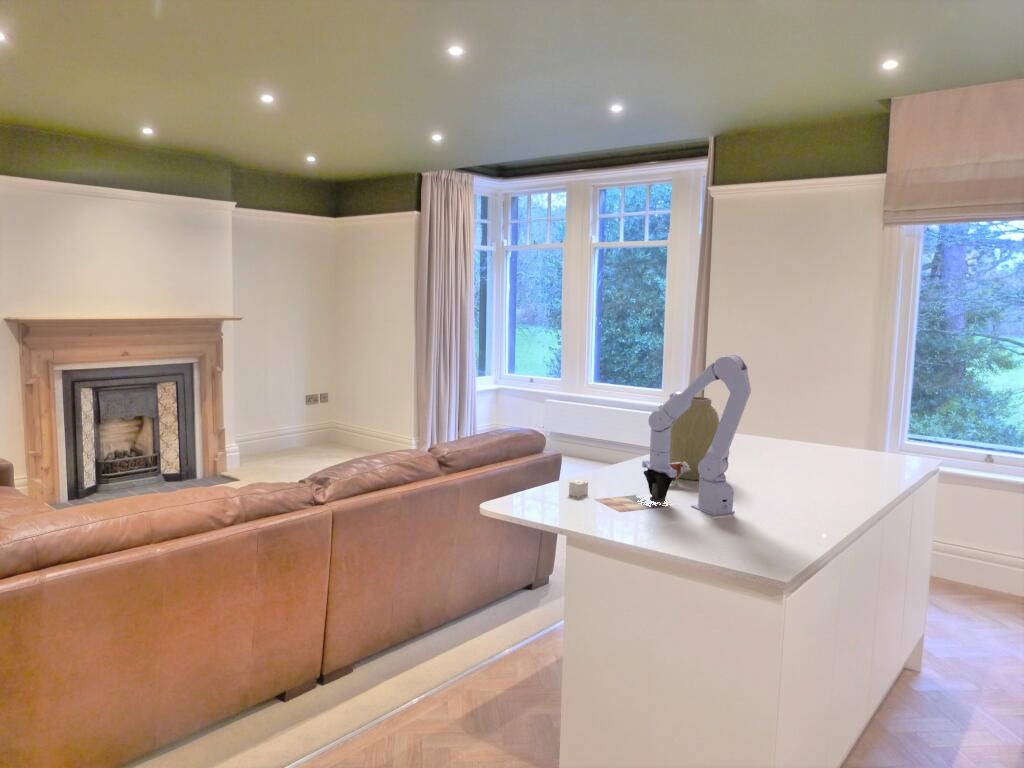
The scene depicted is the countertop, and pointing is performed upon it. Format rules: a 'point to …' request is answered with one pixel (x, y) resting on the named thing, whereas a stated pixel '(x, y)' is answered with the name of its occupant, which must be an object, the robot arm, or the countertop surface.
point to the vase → (693, 435)
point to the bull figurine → (679, 470)
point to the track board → (628, 503)
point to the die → (578, 488)
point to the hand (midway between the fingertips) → (657, 496)
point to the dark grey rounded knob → (655, 493)
